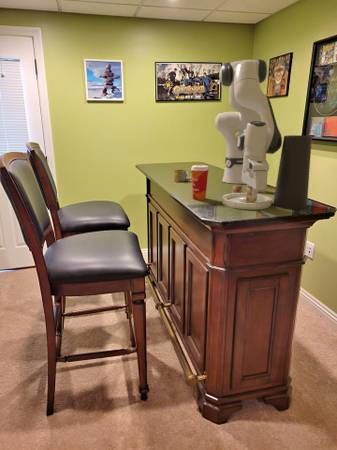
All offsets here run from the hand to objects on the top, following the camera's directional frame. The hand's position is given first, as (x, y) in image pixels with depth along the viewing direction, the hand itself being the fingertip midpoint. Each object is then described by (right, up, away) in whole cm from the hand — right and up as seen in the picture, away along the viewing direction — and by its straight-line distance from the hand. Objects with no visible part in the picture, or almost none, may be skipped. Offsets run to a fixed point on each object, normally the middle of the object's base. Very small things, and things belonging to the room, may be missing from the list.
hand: (251, 196), depth 140 cm
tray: (-1, -2, +7) cm, 8 cm away
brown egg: (-2, +2, +21) cm, 21 cm away
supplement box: (+11, +5, +32) cm, 34 cm away
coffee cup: (-20, 0, +16) cm, 26 cm away
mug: (-26, +14, +60) cm, 66 cm away
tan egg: (0, -2, +1) cm, 2 cm away
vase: (+18, -4, +4) cm, 18 cm away
